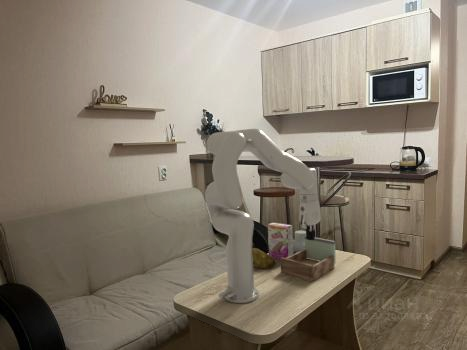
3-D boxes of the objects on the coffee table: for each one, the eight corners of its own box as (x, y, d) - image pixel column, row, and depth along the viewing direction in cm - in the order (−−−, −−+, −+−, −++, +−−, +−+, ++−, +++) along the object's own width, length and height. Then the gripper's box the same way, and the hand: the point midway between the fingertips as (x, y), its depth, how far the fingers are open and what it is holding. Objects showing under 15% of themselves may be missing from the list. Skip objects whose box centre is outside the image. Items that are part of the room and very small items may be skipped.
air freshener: (301, 256, 165) (300, 235, 164) (287, 252, 171) (287, 233, 170) (314, 250, 172) (313, 230, 171) (300, 247, 178) (300, 228, 177)
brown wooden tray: (311, 281, 135) (311, 265, 135) (280, 272, 146) (280, 257, 145) (334, 268, 148) (334, 253, 147) (304, 260, 159) (304, 247, 158)
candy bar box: (268, 257, 165) (266, 224, 163) (274, 254, 169) (272, 222, 167) (288, 262, 158) (287, 227, 156) (294, 259, 162) (292, 224, 160)
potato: (267, 272, 147) (266, 254, 146) (243, 266, 155) (242, 249, 154) (277, 266, 153) (276, 249, 152) (254, 261, 161) (253, 244, 161)
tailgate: (334, 264, 148) (333, 241, 147) (305, 257, 159) (304, 236, 158) (335, 263, 149) (335, 241, 148) (306, 256, 159) (306, 235, 158)
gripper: (306, 201, 137) (308, 245, 140) (325, 195, 148) (327, 236, 150) (290, 199, 143) (293, 242, 145) (310, 193, 153) (312, 233, 155)
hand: (310, 239), depth 147 cm, fingers closed
